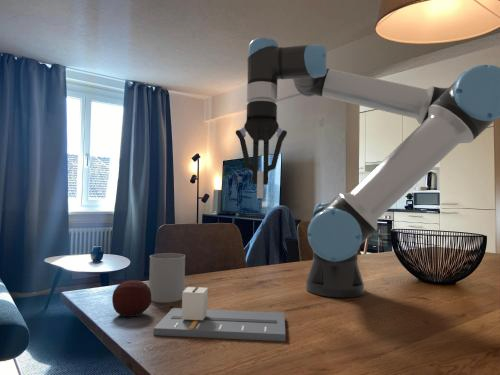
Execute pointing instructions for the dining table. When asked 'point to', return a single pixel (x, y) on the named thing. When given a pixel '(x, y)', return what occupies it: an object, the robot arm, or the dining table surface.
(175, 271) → the cup
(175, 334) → the console
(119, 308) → the potato
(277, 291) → the dining table surface
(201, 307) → the fader
